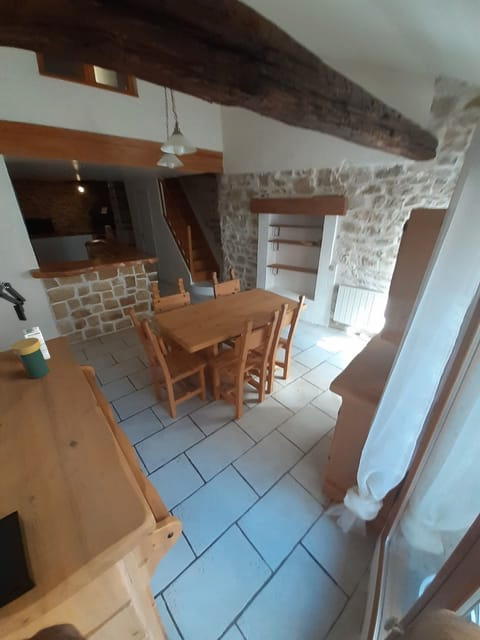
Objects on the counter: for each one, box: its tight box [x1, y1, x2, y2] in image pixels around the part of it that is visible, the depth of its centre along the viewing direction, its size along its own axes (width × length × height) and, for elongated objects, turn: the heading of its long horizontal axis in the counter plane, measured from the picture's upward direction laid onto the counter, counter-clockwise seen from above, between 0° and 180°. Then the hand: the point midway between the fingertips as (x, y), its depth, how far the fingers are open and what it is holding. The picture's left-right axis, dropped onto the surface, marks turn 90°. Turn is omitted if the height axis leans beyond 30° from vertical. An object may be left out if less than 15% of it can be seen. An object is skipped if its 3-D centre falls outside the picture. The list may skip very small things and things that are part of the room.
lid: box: [11, 338, 41, 356], centre depth 99 cm, size 9×8×3 cm
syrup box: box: [22, 326, 51, 361], centre depth 111 cm, size 6×6×14 cm
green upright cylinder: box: [17, 348, 50, 380], centre depth 102 cm, size 7×7×14 cm
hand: (7, 328), depth 98 cm, fingers open, 13 cm apart
